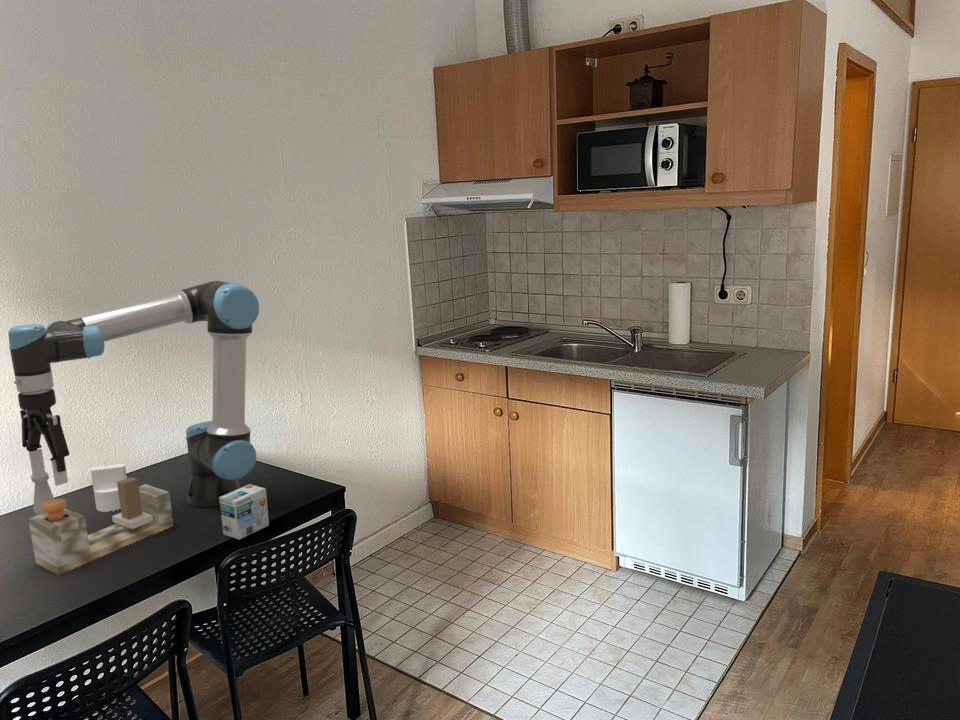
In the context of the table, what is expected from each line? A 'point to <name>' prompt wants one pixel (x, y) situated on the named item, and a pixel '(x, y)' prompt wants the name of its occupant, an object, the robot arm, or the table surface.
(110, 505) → the cylinder with rectangular tab
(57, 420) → the robot arm
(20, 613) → the table surface
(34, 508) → the salt shaker
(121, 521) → the carriage
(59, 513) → the button
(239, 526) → the light bulb box
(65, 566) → the rail base
